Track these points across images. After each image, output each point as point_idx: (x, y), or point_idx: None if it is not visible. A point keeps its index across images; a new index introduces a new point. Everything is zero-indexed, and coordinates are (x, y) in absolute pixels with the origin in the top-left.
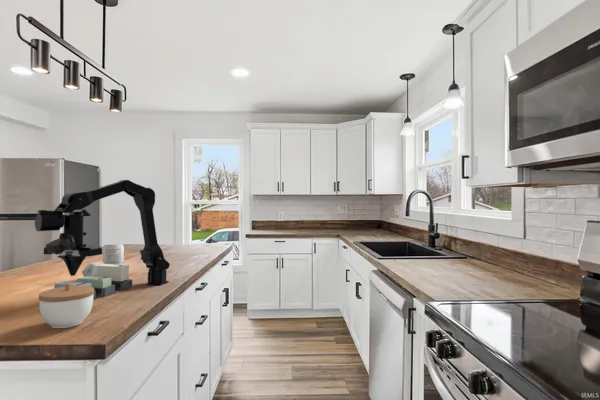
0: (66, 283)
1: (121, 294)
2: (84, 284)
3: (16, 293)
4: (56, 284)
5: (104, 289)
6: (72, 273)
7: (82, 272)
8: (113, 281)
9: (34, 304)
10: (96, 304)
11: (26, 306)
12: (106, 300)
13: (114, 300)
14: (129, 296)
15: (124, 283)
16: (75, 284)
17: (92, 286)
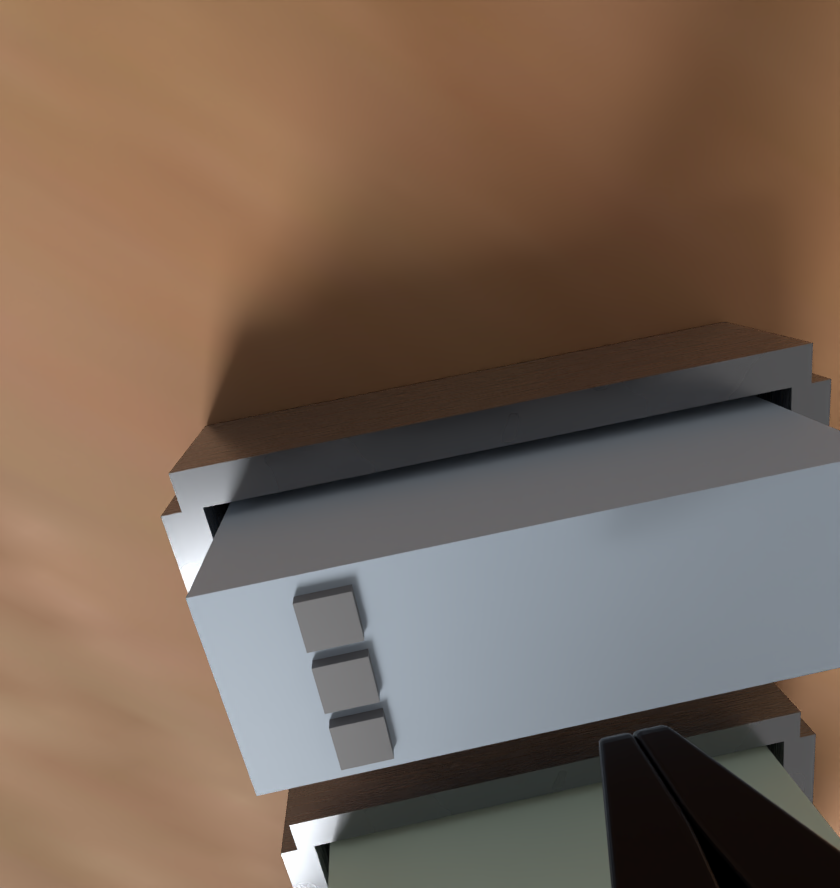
0: (693, 579)
1: (216, 881)
2: (273, 689)
3: None
4: (834, 457)
5: (285, 834)
6: (606, 788)
7: None
8: None
9: (807, 140)
10: (17, 523)
11: (827, 14)
12: (104, 679)
13: (14, 720)
14: (43, 879)
15: None
16: (441, 612)
17: (512, 820)
